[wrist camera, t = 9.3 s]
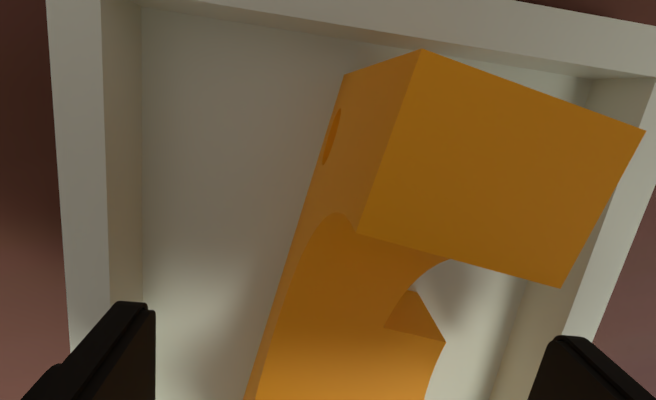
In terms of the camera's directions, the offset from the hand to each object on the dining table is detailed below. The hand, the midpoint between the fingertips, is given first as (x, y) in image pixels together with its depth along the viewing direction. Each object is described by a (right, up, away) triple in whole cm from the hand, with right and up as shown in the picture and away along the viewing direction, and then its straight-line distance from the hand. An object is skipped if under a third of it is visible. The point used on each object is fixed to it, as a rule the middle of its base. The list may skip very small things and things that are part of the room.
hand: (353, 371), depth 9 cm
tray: (0, +1, +4) cm, 4 cm away
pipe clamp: (0, +1, +3) cm, 3 cm away
